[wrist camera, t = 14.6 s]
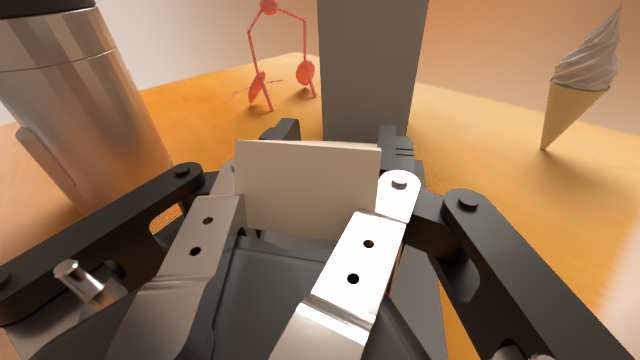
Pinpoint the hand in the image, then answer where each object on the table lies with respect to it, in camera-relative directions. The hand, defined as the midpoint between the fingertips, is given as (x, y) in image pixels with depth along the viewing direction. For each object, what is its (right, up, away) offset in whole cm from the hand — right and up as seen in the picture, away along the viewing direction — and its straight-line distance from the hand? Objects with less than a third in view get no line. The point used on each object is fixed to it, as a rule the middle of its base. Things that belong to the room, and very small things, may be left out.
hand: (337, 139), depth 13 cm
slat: (+1, -2, +5) cm, 6 cm away
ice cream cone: (+27, +2, +20) cm, 34 cm away
